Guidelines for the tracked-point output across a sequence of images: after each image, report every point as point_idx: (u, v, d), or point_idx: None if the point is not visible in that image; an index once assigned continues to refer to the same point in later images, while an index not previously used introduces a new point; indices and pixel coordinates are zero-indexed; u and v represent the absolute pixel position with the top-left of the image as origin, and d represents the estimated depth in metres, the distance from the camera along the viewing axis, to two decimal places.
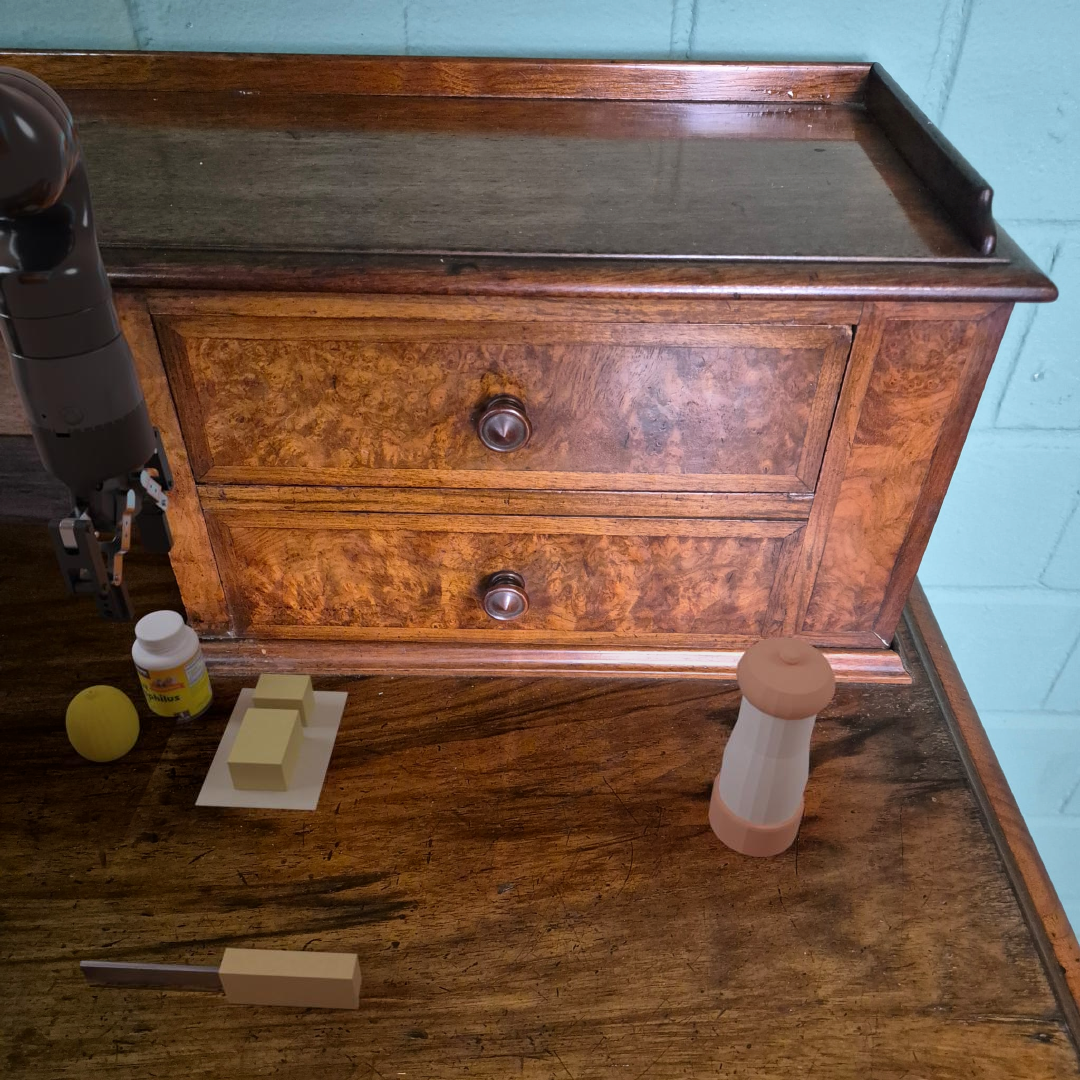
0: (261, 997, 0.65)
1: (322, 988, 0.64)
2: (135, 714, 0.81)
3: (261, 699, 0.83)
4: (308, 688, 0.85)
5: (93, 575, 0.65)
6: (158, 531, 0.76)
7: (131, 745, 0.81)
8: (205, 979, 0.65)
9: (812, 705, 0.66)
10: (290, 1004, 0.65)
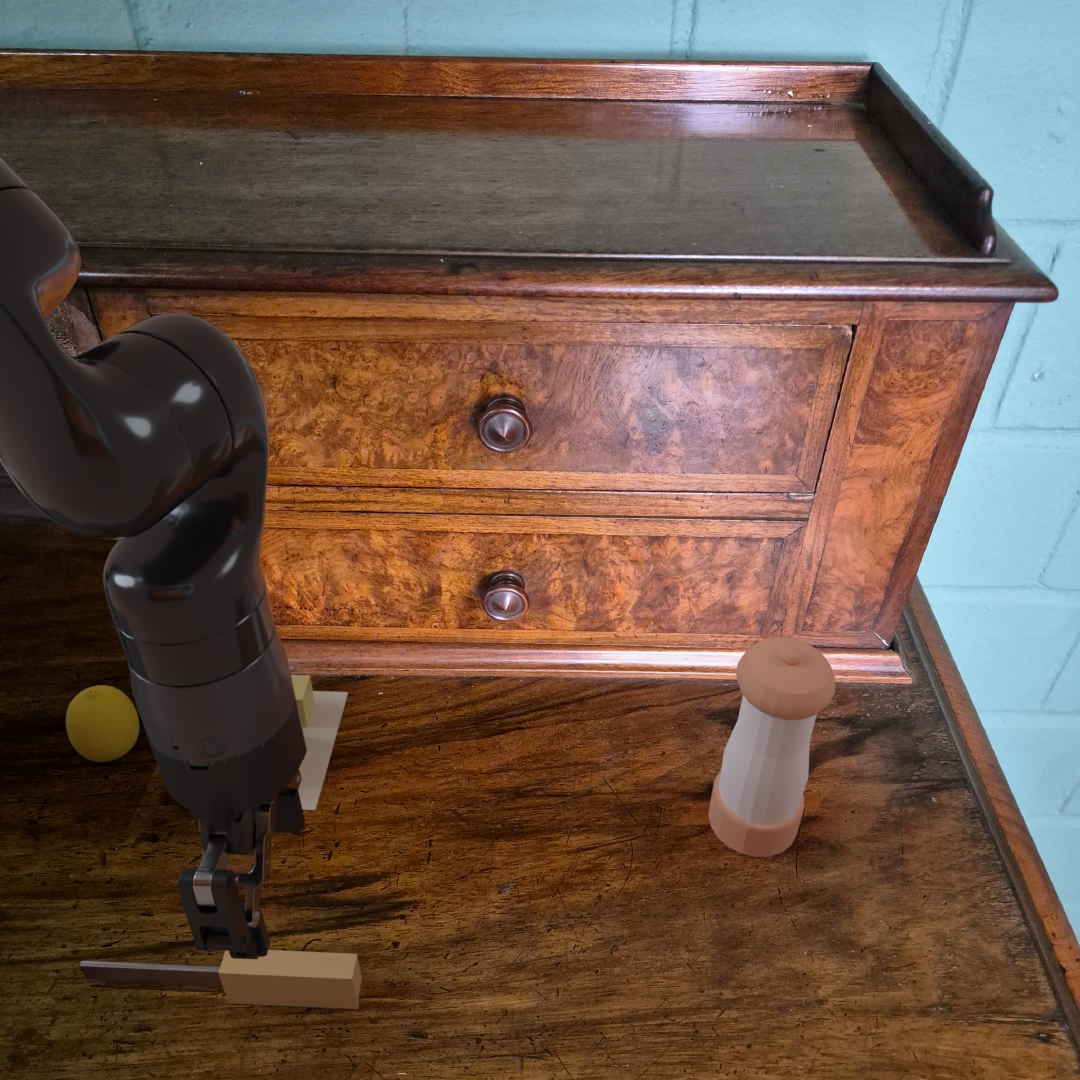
0: (261, 997, 0.65)
1: (322, 988, 0.64)
2: (135, 714, 0.81)
3: None
4: (308, 688, 0.85)
5: (232, 933, 0.49)
6: (288, 812, 0.61)
7: (131, 745, 0.81)
8: (205, 979, 0.65)
9: (812, 705, 0.66)
10: (290, 1004, 0.65)
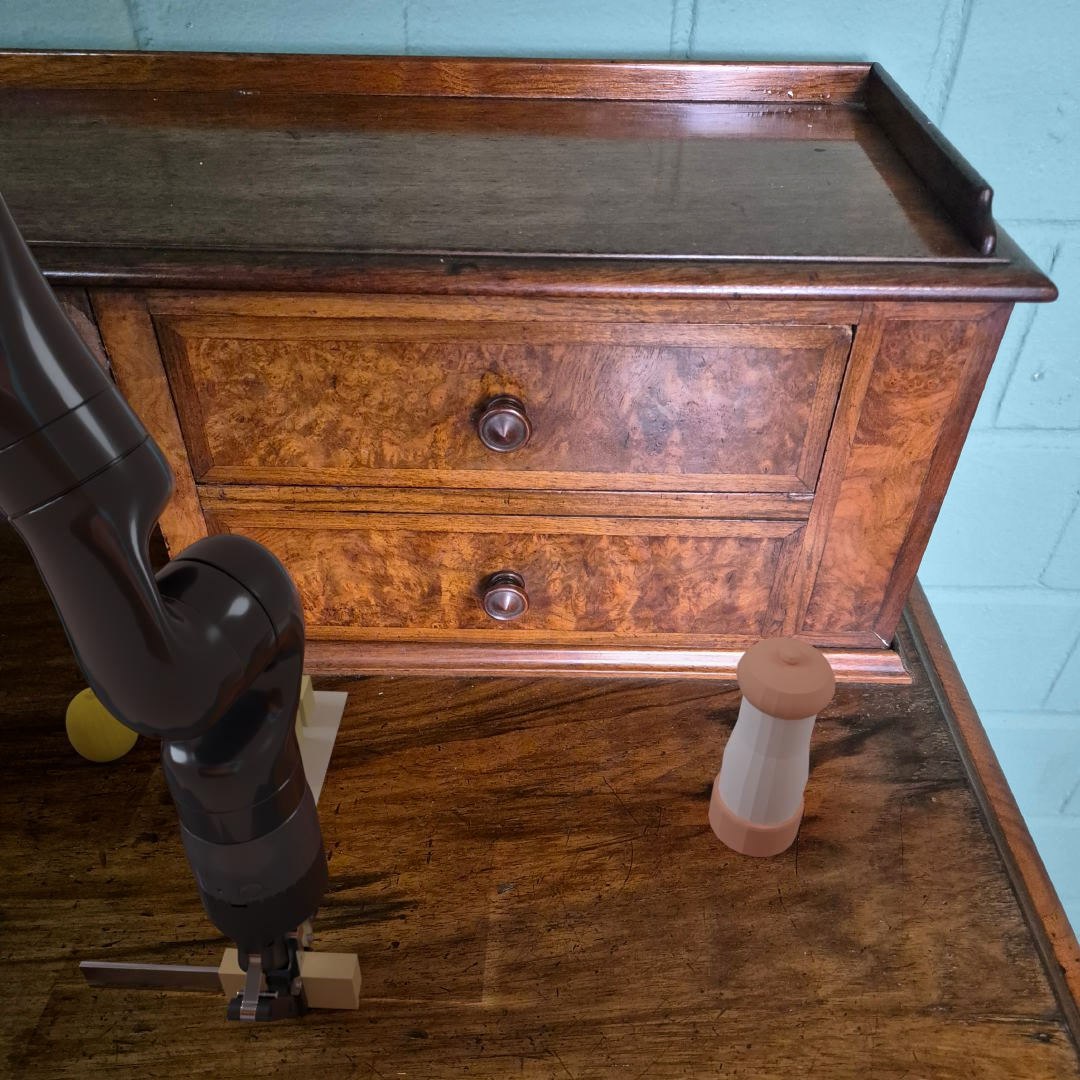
0: None
1: (322, 988, 0.64)
2: None
3: None
4: (308, 688, 0.85)
5: None
6: None
7: (131, 745, 0.81)
8: (205, 979, 0.65)
9: (812, 705, 0.66)
10: None
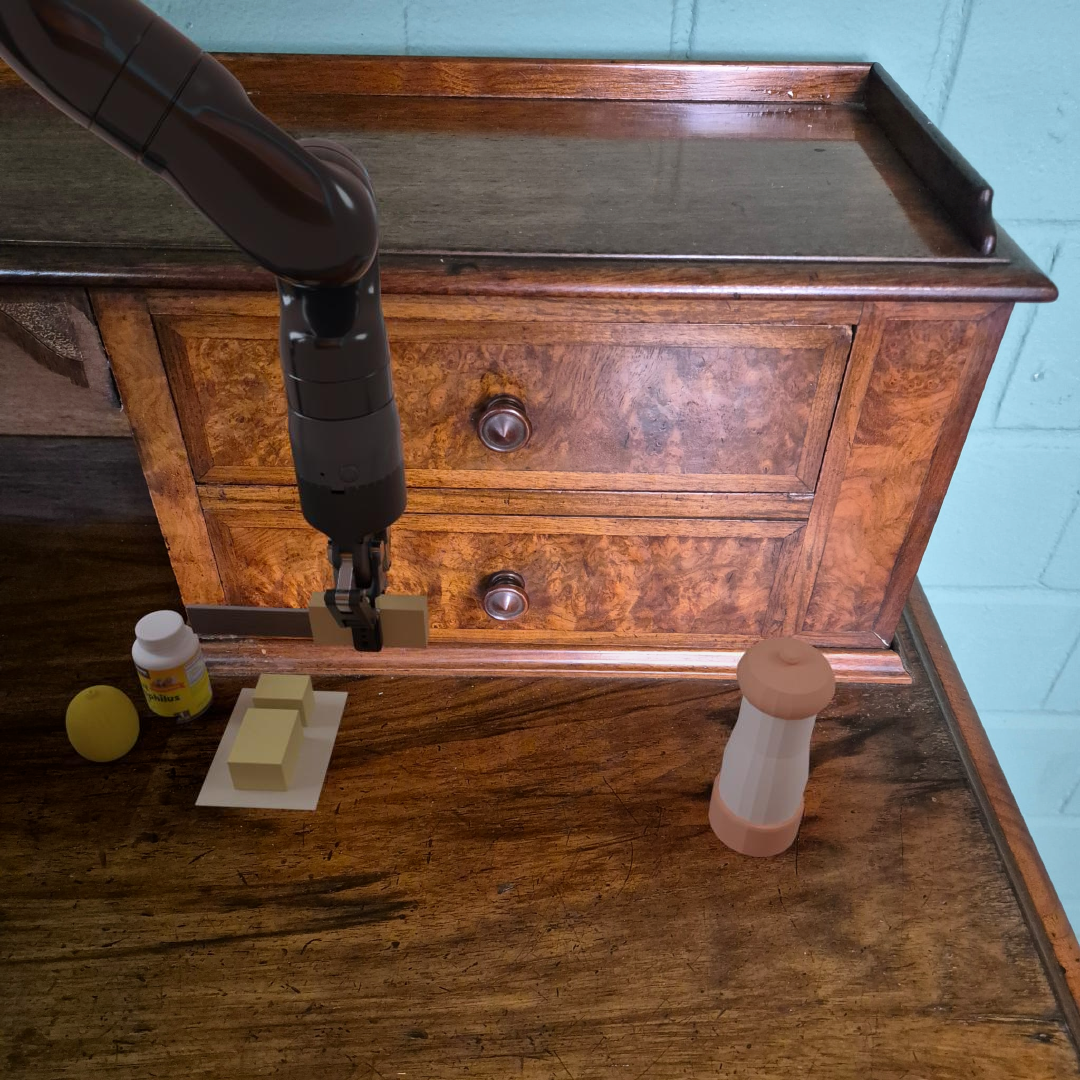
0: (343, 636, 0.75)
1: (397, 623, 0.74)
2: (135, 714, 0.81)
3: (261, 699, 0.83)
4: (308, 688, 0.85)
5: (365, 622, 0.69)
6: None
7: (131, 745, 0.81)
8: (294, 620, 0.75)
9: (812, 705, 0.66)
10: None
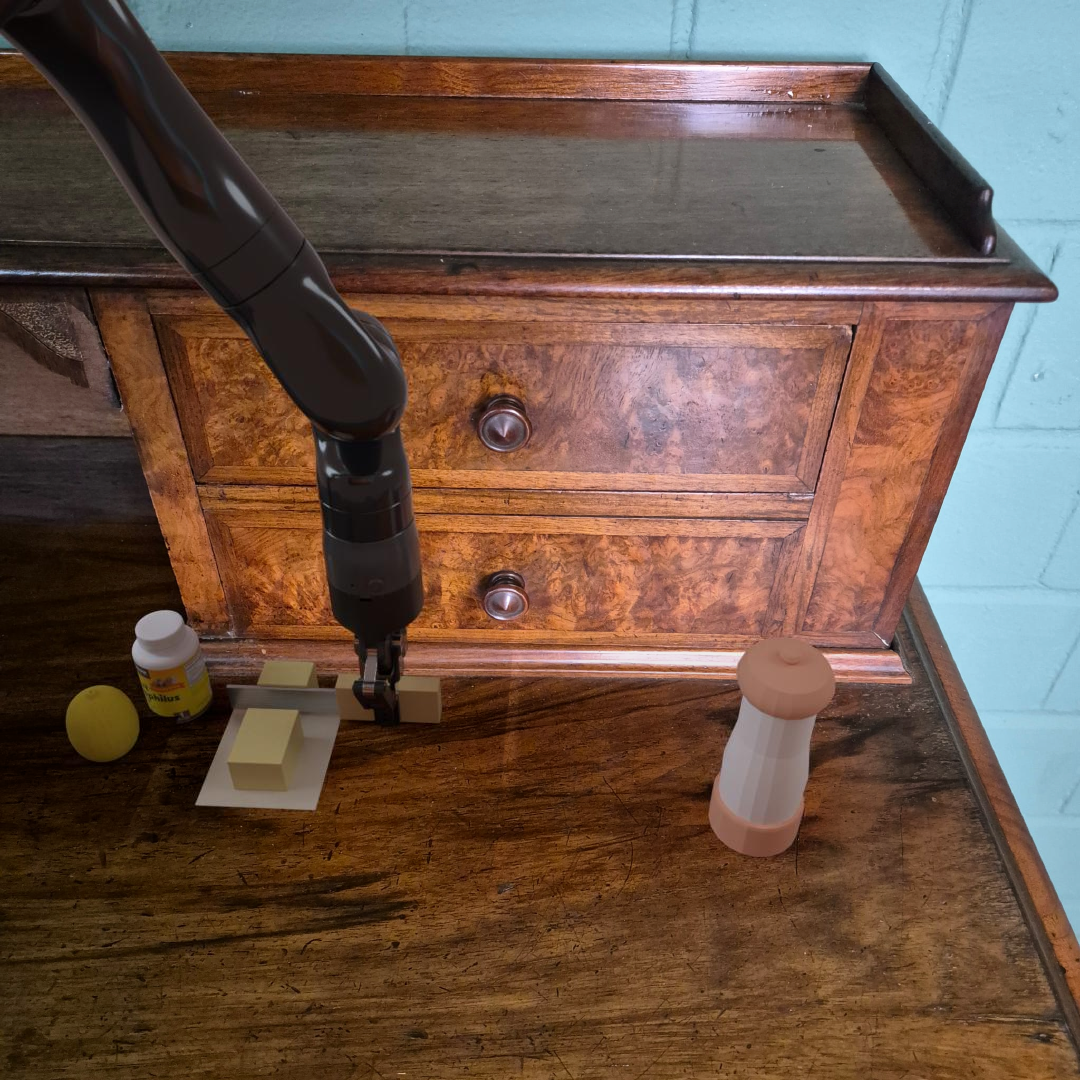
0: (366, 712, 0.84)
1: (414, 702, 0.83)
2: (135, 714, 0.81)
3: (266, 685, 0.84)
4: (312, 674, 0.86)
5: (387, 706, 0.78)
6: None
7: (131, 745, 0.81)
8: (322, 698, 0.85)
9: (812, 705, 0.66)
10: None
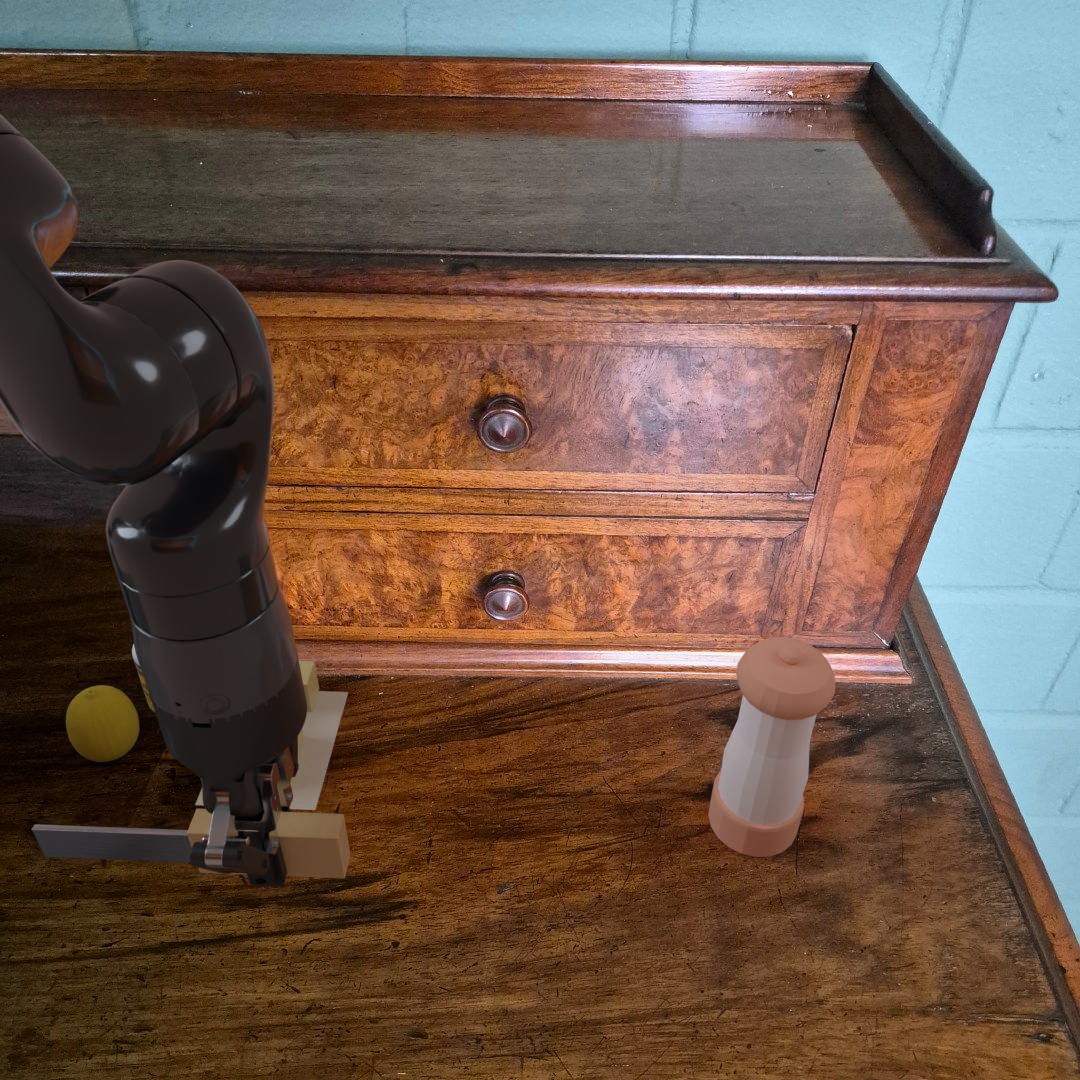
0: None
1: (304, 852, 0.57)
2: (135, 714, 0.81)
3: None
4: (312, 674, 0.86)
5: (252, 872, 0.52)
6: None
7: (131, 745, 0.81)
8: (174, 844, 0.58)
9: (812, 705, 0.66)
10: None
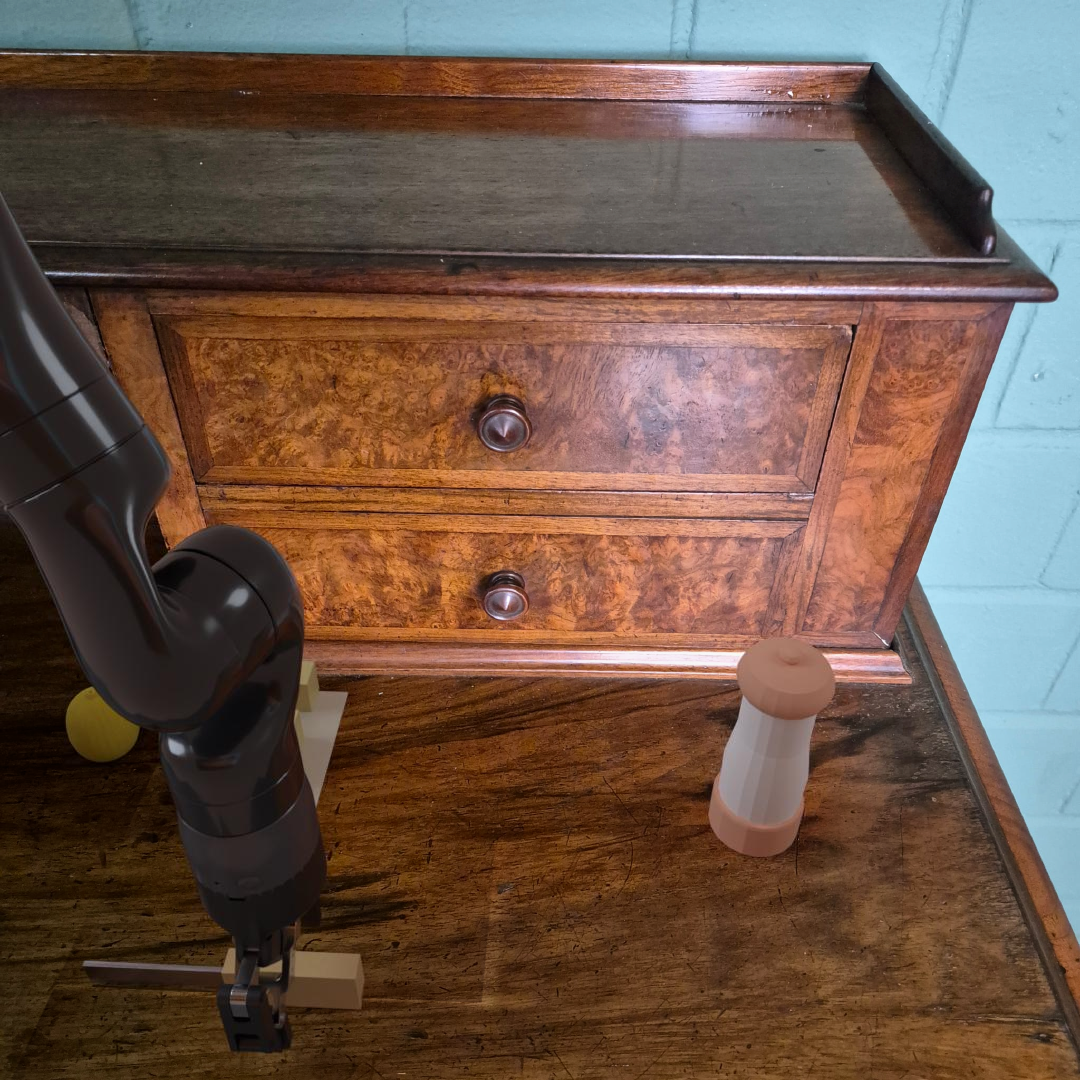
0: None
1: (325, 988, 0.64)
2: None
3: None
4: (312, 674, 0.86)
5: (263, 1039, 0.56)
6: (308, 910, 0.67)
7: (131, 745, 0.81)
8: (208, 979, 0.65)
9: (812, 705, 0.66)
10: (293, 1004, 0.65)
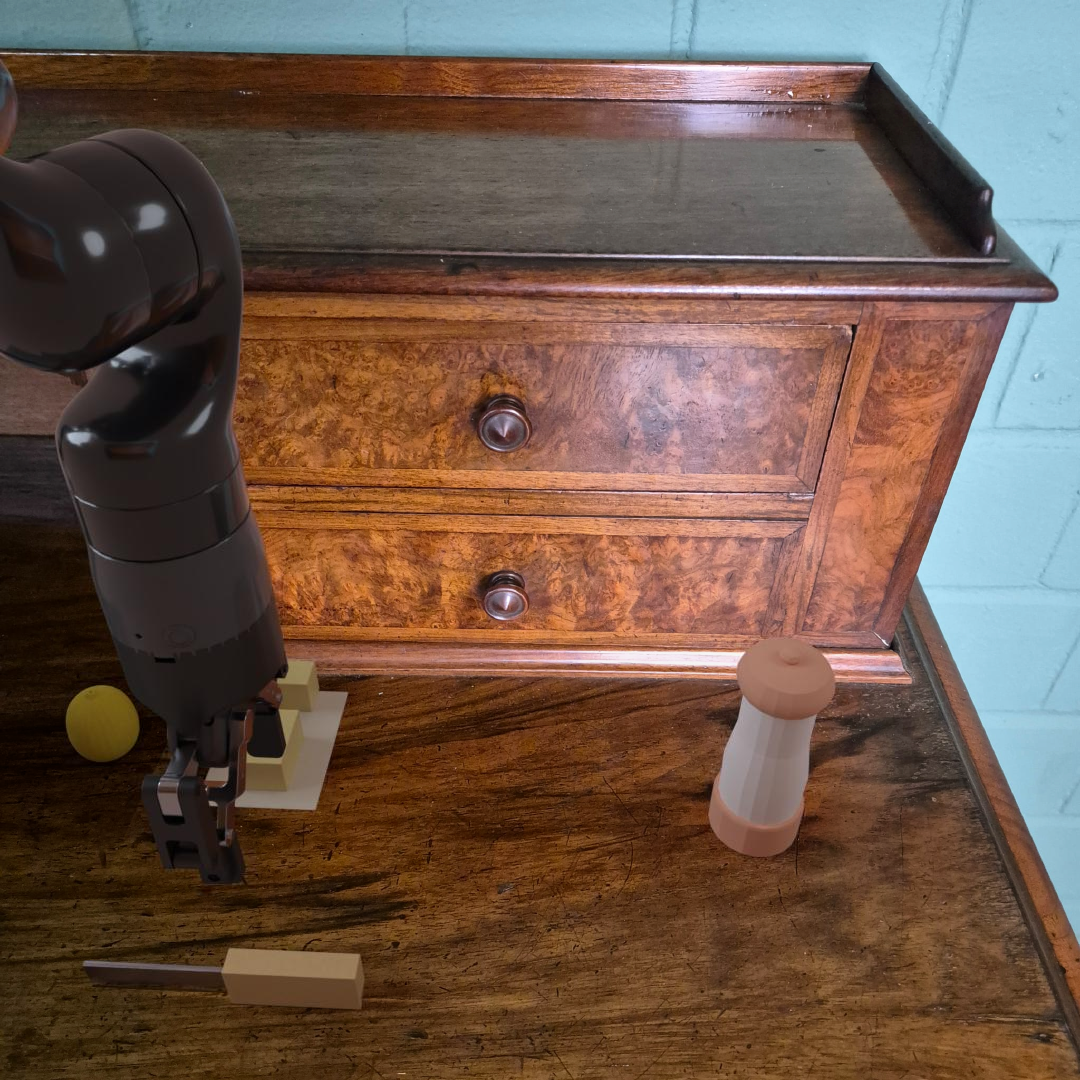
0: (264, 997, 0.65)
1: (325, 989, 0.64)
2: (135, 714, 0.81)
3: None
4: (312, 674, 0.86)
5: (202, 849, 0.45)
6: (268, 734, 0.56)
7: (131, 745, 0.81)
8: (208, 979, 0.65)
9: (812, 705, 0.66)
10: (293, 1004, 0.65)
